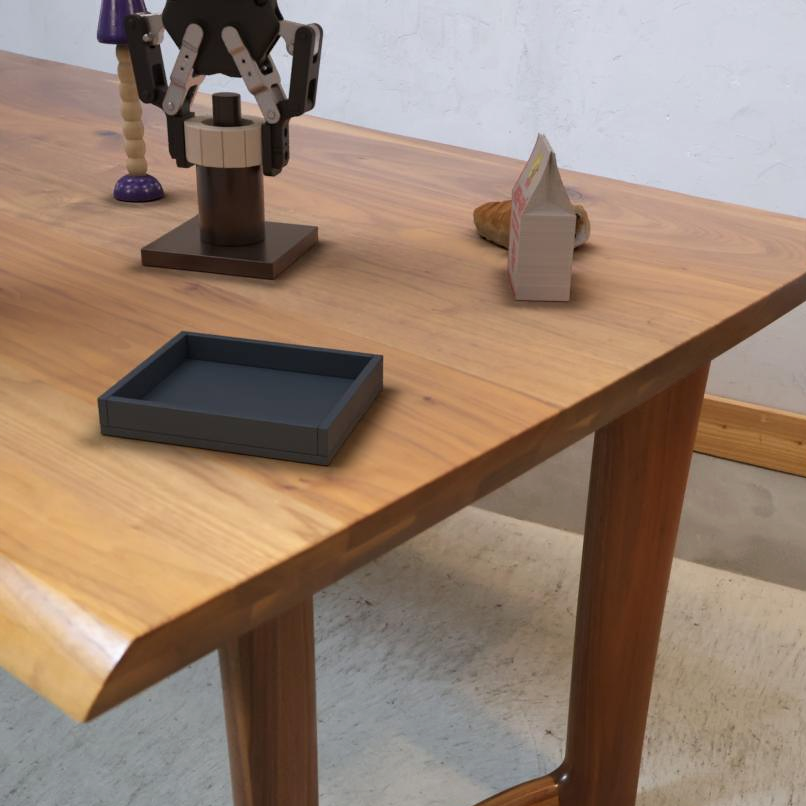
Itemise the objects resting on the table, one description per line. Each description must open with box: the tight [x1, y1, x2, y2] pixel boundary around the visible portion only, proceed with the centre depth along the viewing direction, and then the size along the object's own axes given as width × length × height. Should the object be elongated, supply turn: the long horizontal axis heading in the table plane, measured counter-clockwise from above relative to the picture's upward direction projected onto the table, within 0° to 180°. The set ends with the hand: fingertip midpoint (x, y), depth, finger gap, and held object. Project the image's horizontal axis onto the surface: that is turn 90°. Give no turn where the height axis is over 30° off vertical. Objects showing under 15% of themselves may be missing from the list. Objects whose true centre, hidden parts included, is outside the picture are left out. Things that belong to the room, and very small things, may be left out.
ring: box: [184, 113, 266, 168], centre depth 82 cm, size 6×6×3 cm
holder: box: [140, 91, 319, 280], centre depth 84 cm, size 10×10×12 cm
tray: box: [96, 330, 384, 467], centre depth 61 cm, size 12×10×2 cm
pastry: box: [472, 199, 591, 250], centre depth 91 cm, size 9×7×4 cm
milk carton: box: [506, 132, 576, 302], centre depth 80 cm, size 4×7×10 cm, turn 2°
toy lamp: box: [96, 0, 165, 202], centre depth 96 cm, size 5×5×17 cm
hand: (230, 169), depth 83 cm, fingers closed on ring, 6 cm apart
